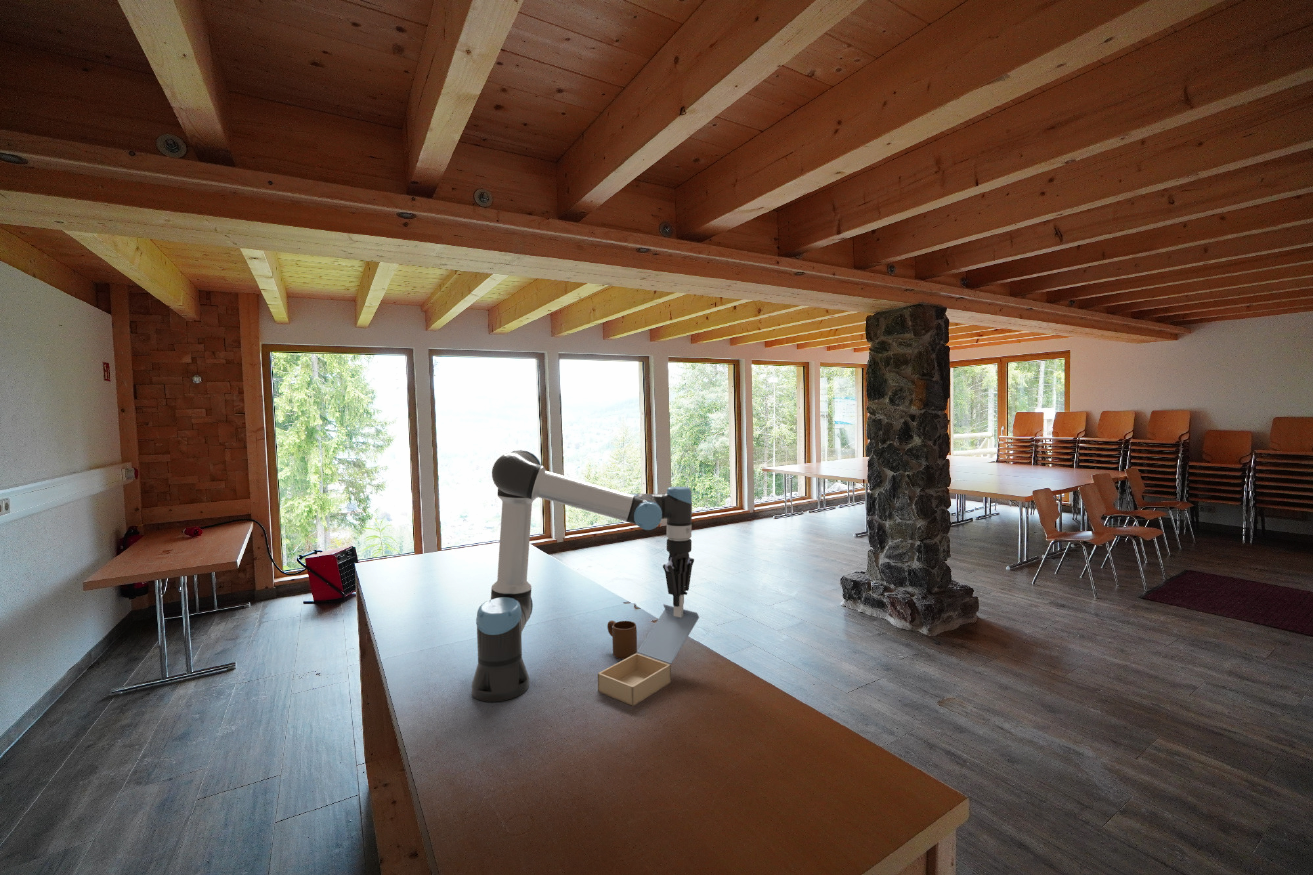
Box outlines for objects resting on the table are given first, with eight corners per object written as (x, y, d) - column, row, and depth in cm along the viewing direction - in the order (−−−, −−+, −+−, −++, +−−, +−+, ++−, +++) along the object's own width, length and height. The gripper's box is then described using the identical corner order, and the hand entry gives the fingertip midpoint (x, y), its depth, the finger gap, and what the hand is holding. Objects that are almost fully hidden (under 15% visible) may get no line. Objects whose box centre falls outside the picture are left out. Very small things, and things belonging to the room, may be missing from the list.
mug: (599, 650, 175) (598, 621, 175) (617, 643, 180) (617, 615, 180) (623, 662, 166) (622, 631, 166) (642, 654, 172) (641, 624, 171)
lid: (696, 612, 163) (699, 617, 164) (663, 604, 171) (665, 608, 172) (668, 659, 152) (671, 664, 153) (634, 647, 160) (637, 652, 161)
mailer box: (633, 706, 141) (632, 687, 141) (597, 691, 149) (597, 673, 149) (670, 682, 153) (670, 664, 153) (636, 669, 161) (636, 653, 161)
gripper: (676, 543, 158) (675, 624, 159) (701, 536, 168) (700, 613, 169) (655, 539, 163) (655, 619, 163) (681, 533, 173) (681, 608, 173)
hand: (678, 616), depth 166 cm, fingers closed
